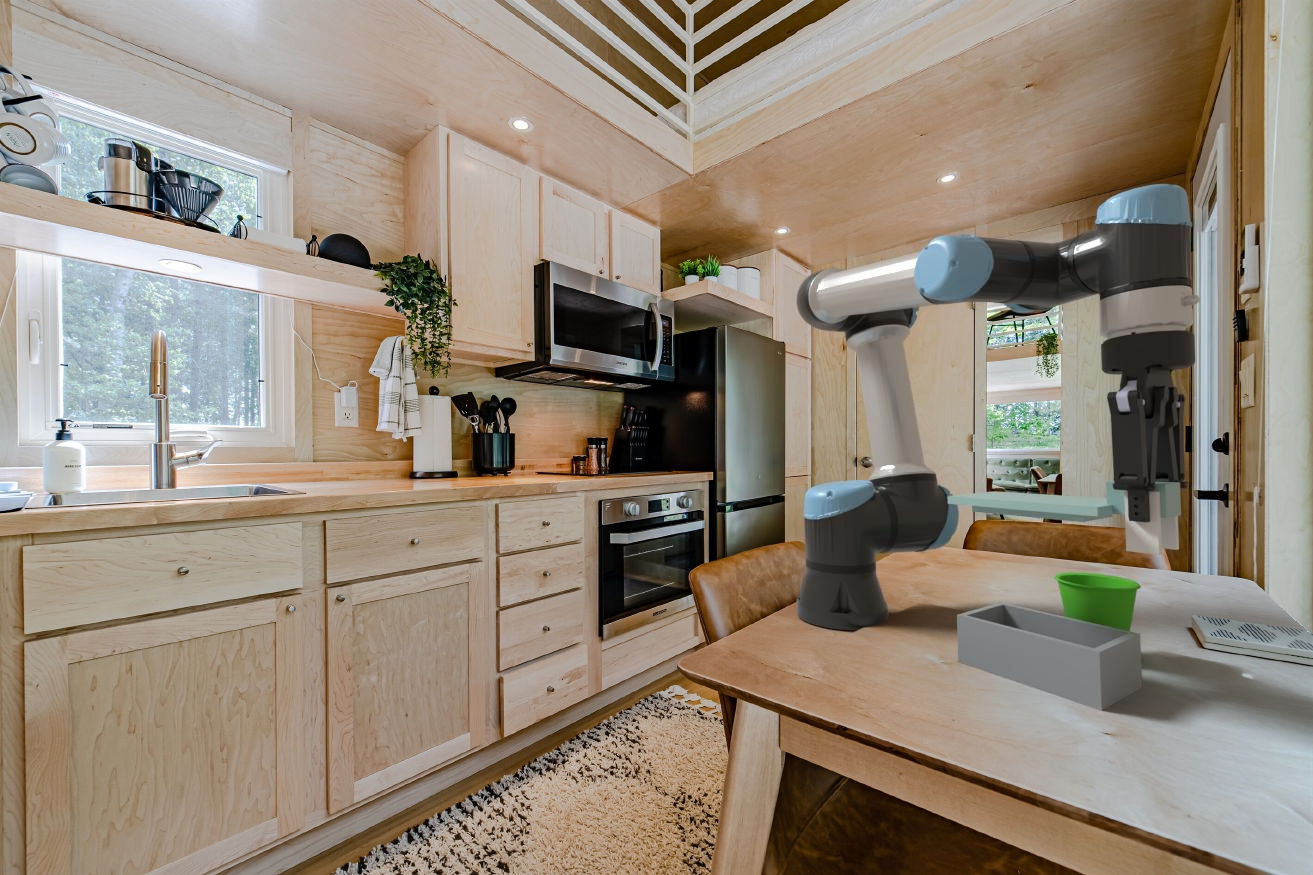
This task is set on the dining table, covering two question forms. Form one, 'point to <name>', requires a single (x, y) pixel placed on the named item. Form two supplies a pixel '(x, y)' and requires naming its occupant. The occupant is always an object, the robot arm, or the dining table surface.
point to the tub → (1052, 653)
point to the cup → (1098, 598)
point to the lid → (1066, 503)
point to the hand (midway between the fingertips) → (1152, 549)
